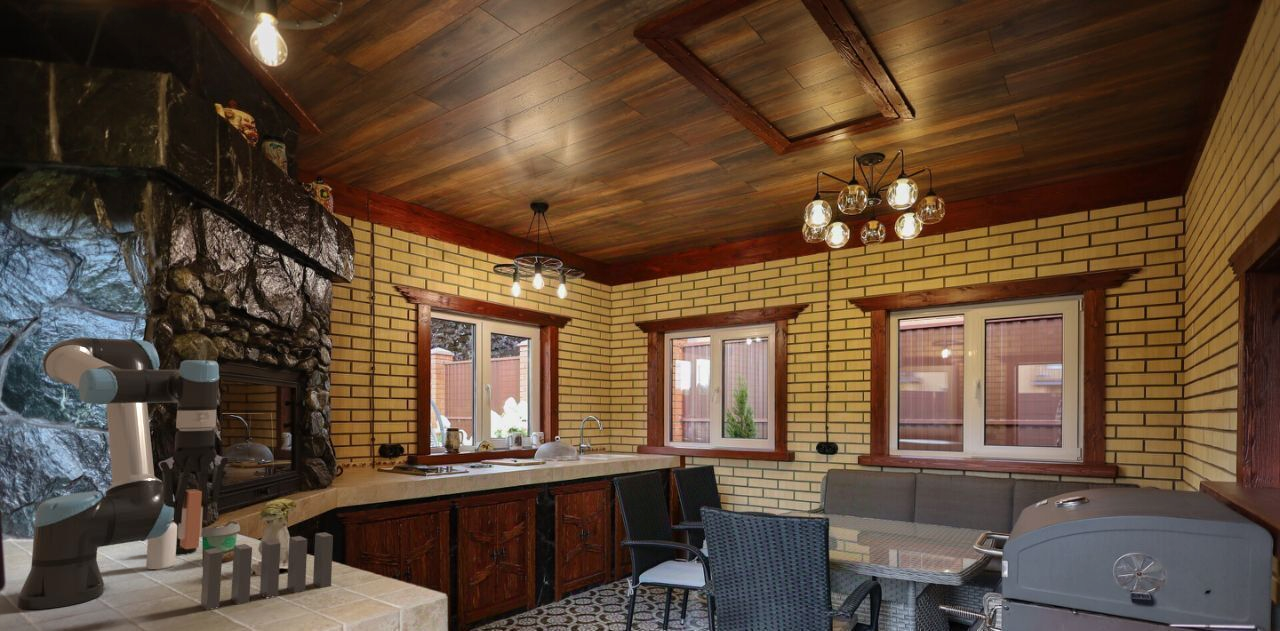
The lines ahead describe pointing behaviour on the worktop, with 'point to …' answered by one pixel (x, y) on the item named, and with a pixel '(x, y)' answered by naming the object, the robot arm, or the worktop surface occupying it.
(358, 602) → the worktop surface
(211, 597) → the domino
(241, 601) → the domino
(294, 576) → the domino
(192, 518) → the domino
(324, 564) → the domino
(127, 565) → the worktop surface
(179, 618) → the worktop surface
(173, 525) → the can
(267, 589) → the domino
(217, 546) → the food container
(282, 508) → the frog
